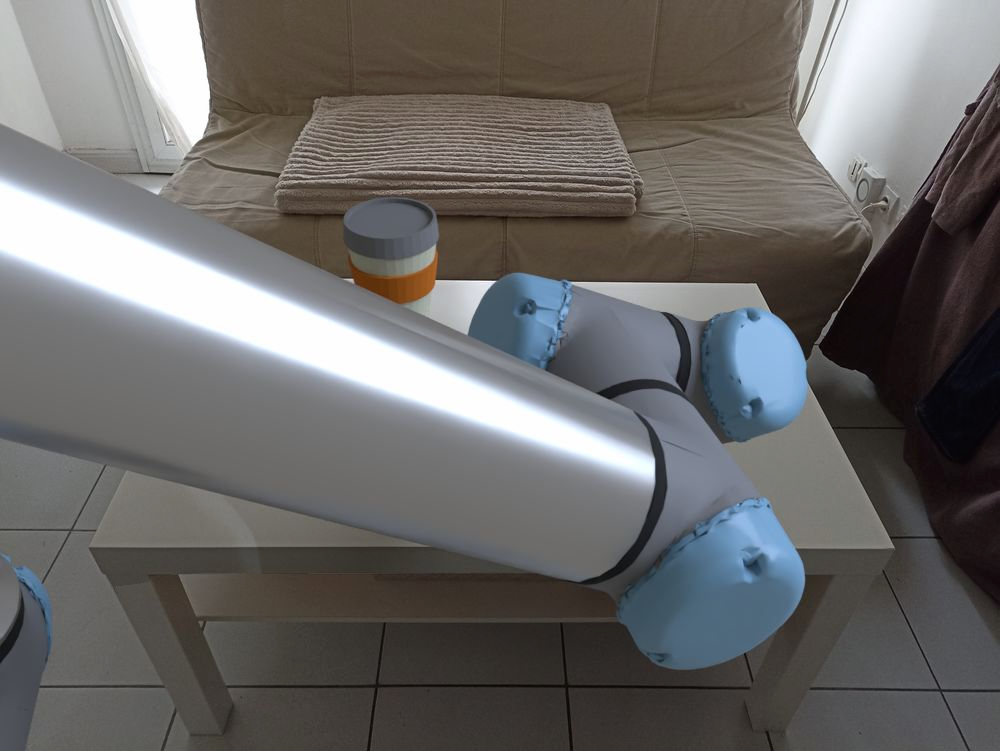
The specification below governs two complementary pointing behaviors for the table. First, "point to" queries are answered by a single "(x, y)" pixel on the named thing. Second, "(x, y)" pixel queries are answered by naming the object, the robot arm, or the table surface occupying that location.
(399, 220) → the reusable coffee cup
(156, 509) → the table surface
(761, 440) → the table surface
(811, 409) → the table surface
